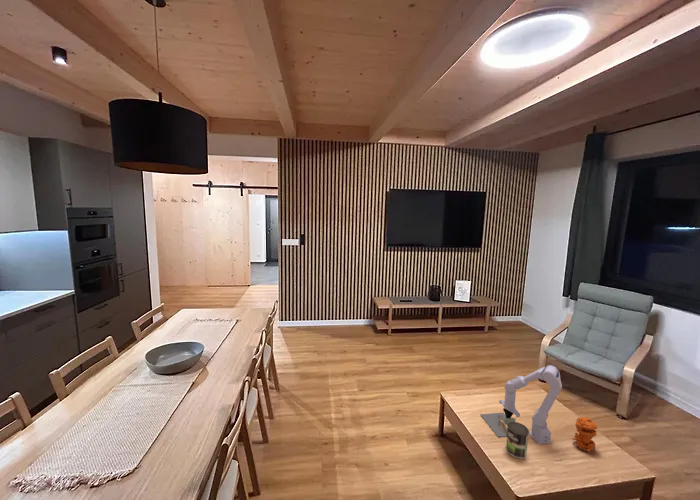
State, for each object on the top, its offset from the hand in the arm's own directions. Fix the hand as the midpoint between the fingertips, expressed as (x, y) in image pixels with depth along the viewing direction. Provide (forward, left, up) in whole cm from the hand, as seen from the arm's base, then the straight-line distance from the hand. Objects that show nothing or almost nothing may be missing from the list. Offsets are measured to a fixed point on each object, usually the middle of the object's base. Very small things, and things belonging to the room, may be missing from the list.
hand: (508, 420), depth 190 cm
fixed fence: (-6, +6, -2) cm, 9 cm away
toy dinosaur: (-23, -31, -2) cm, 38 cm away
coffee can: (-22, +9, -2) cm, 24 cm away
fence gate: (-2, +1, -1) cm, 2 cm away
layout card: (-1, +5, -2) cm, 6 cm away
